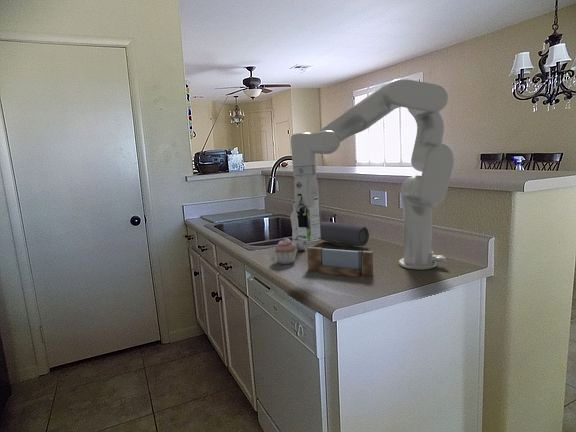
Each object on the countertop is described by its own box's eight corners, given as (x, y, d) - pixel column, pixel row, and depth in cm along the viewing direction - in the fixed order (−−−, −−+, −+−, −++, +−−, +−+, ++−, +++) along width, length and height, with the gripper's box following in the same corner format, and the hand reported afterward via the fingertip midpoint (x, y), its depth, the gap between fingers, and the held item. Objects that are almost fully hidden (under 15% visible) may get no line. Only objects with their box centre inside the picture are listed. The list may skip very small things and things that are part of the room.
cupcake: (270, 261, 149) (268, 236, 147) (291, 257, 153) (289, 233, 151) (281, 267, 141) (279, 241, 139) (302, 262, 145) (301, 237, 143)
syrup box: (297, 239, 128) (293, 197, 125) (309, 236, 131) (306, 194, 129) (309, 241, 123) (306, 197, 121) (321, 237, 127) (318, 195, 125)
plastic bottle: (290, 252, 161) (288, 205, 158) (293, 248, 168) (290, 203, 164) (305, 251, 160) (303, 205, 157) (307, 247, 167) (305, 202, 163)
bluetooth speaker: (370, 246, 164) (369, 223, 162) (357, 251, 157) (357, 227, 156) (328, 239, 180) (327, 219, 178) (316, 244, 173) (315, 222, 171)
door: (362, 273, 128) (362, 250, 127) (361, 274, 127) (361, 251, 126) (323, 269, 135) (323, 247, 134) (322, 270, 134) (321, 248, 133)
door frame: (373, 274, 127) (372, 251, 126) (370, 278, 124) (369, 254, 122) (310, 268, 138) (309, 246, 136) (306, 271, 134) (304, 249, 133)
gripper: (303, 173, 114) (307, 230, 117) (325, 168, 129) (328, 219, 132) (282, 174, 118) (286, 230, 121) (305, 170, 133) (308, 219, 136)
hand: (308, 224), depth 127 cm, fingers closed on syrup box, 7 cm apart
